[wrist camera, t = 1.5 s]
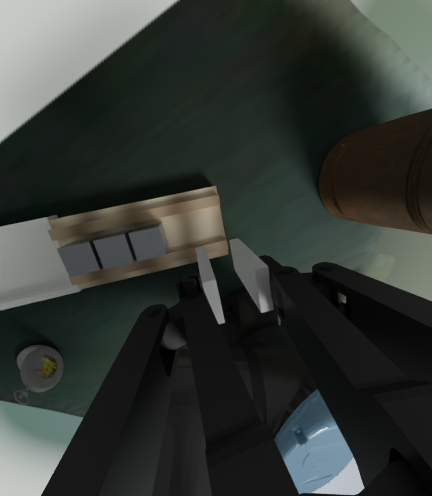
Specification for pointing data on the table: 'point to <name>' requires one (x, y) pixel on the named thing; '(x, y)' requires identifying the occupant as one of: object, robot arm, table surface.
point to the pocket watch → (38, 369)
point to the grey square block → (115, 249)
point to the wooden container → (382, 175)
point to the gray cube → (149, 241)
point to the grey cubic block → (80, 256)
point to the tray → (31, 264)
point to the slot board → (145, 213)
